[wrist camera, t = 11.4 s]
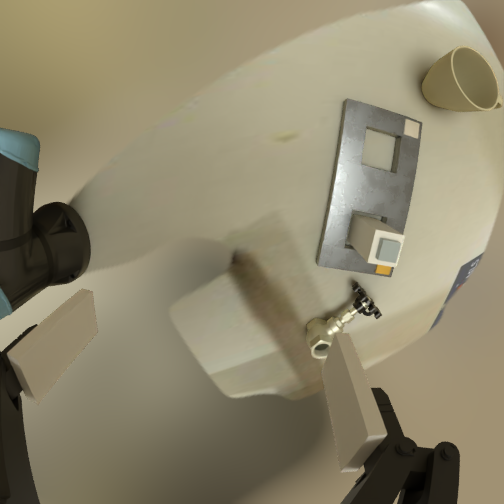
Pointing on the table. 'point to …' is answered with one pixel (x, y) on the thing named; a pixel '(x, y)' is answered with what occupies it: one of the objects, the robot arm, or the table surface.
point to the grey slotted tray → (368, 183)
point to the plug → (375, 240)
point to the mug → (462, 82)
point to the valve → (337, 324)
